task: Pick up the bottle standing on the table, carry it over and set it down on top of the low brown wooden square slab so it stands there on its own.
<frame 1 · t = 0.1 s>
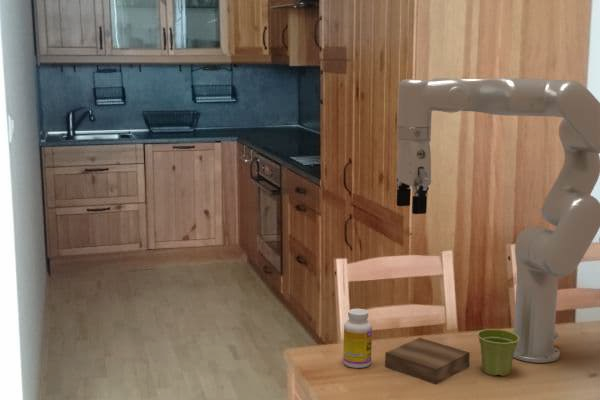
hand: (410, 209, 172), 37 cm above the table, tool pointing down, fingers open, 9 cm apart
brown wooden square slab: (427, 366, 177), on the table
supplement bottle: (357, 364, 179), on the table
plant pot: (496, 372, 175), on the table
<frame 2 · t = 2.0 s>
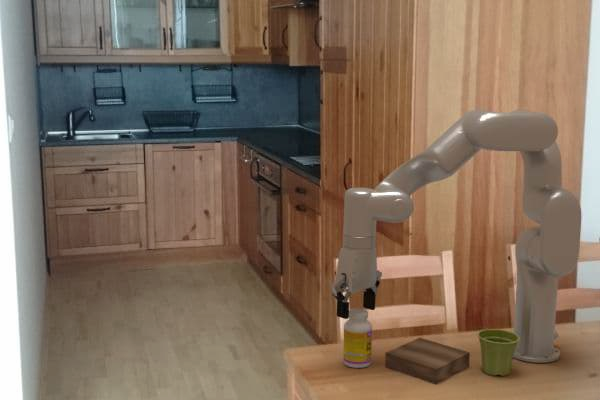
hand: (355, 313, 176), 12 cm above the table, tool pointing down, fingers open, 9 cm apart
nothing on the table moved.
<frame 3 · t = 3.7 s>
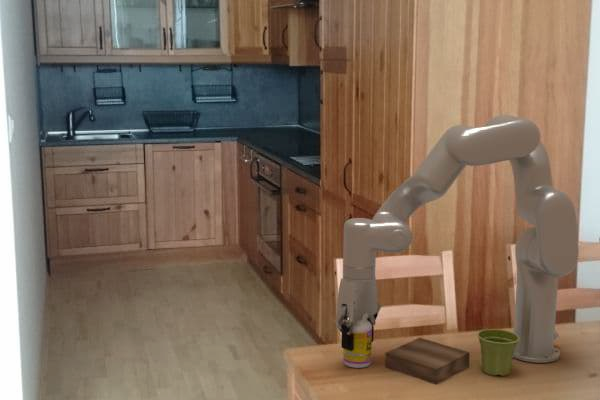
hand: (357, 344, 178), 5 cm above the table, tool pointing down, fingers closed on supplement bottle, 6 cm apart
supplement bottle: (357, 364, 179), on the table, touching gripper
everything else where it was.
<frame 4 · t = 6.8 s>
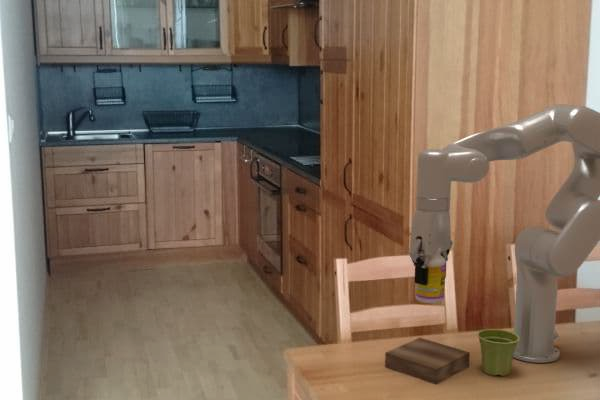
hand: (430, 280, 173), 21 cm above the table, tool pointing down, fingers closed on supplement bottle, 6 cm apart
supplement bottle: (429, 300, 174), point 16 cm above the table, touching gripper
everything else where it was.
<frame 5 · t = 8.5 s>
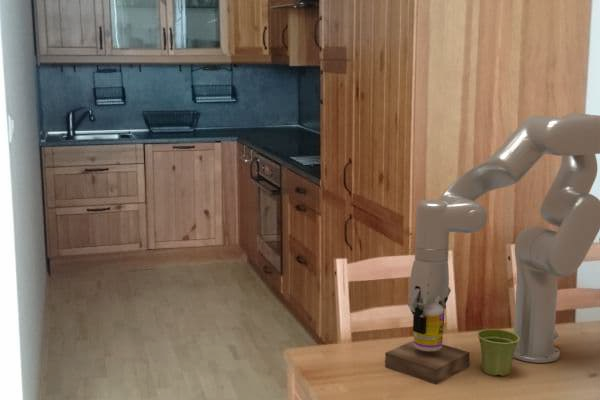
hand: (428, 328, 175), 9 cm above the table, tool pointing down, fingers closed on supplement bottle, 6 cm apart
supplement bottle: (427, 348, 176), point 5 cm above the table, touching gripper
everything else where it was.
when the fingers open (9 cm above the table, at t = 9.9 s): supplement bottle stays where it is, resting on brown wooden square slab.
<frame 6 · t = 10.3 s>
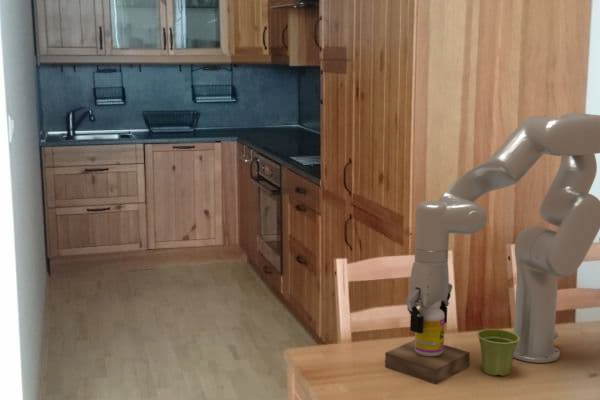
hand: (428, 326, 175), 10 cm above the table, tool pointing down, fingers open, 9 cm apart
supplement bottle: (428, 353, 177), point 3 cm above the table, touching brown wooden square slab
everything else where it was.
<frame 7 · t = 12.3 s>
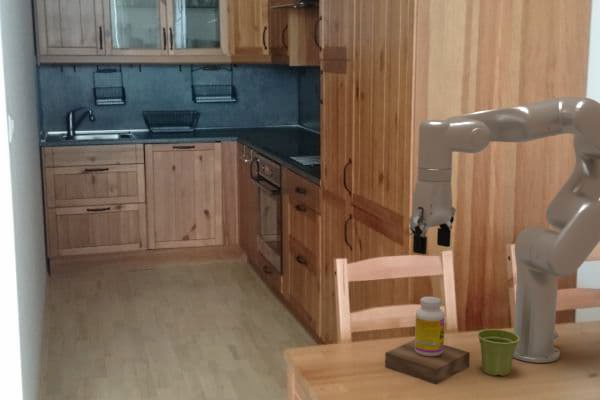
hand: (431, 249, 172), 28 cm above the table, tool pointing down, fingers open, 9 cm apart
nothing on the table moved.
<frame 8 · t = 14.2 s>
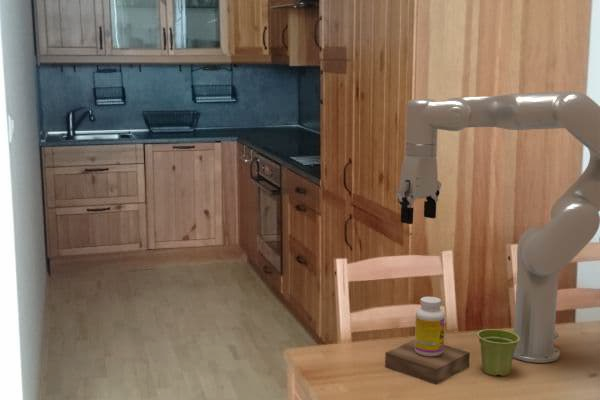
hand: (418, 220, 185), 32 cm above the table, tool pointing down, fingers open, 9 cm apart
nothing on the table moved.
at the end: supplement bottle inside the target area on the brown wooden square slab (0.3 cm from its centre), point 3.3 cm above the brown wooden square slab's base; supplement bottle tilted 0°; the gripper is holding nothing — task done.
